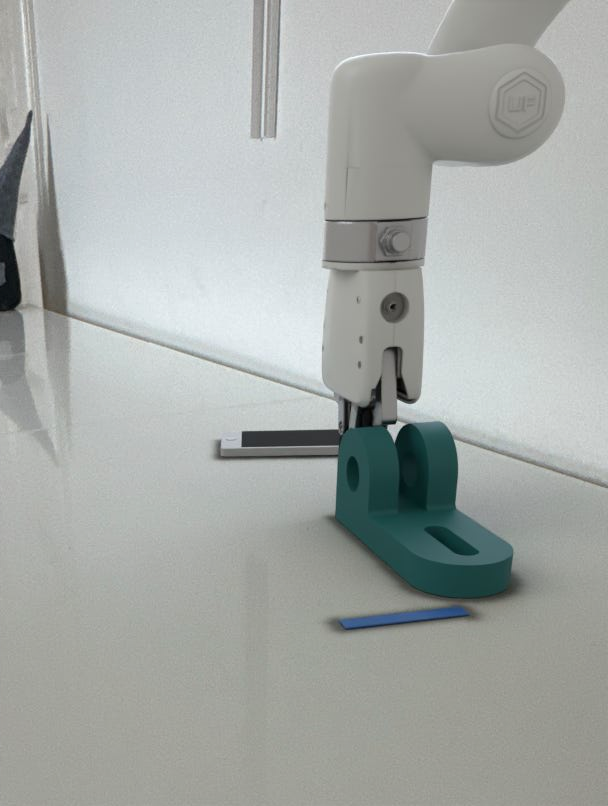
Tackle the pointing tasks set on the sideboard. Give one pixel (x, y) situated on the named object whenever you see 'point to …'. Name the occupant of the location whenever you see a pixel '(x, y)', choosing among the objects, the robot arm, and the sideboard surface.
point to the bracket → (417, 511)
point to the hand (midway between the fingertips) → (358, 484)
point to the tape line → (403, 617)
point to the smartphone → (280, 442)
